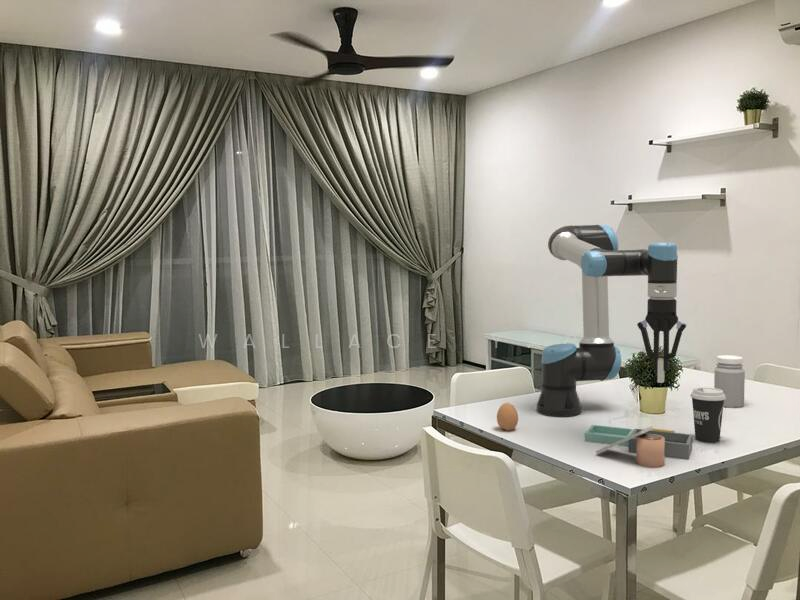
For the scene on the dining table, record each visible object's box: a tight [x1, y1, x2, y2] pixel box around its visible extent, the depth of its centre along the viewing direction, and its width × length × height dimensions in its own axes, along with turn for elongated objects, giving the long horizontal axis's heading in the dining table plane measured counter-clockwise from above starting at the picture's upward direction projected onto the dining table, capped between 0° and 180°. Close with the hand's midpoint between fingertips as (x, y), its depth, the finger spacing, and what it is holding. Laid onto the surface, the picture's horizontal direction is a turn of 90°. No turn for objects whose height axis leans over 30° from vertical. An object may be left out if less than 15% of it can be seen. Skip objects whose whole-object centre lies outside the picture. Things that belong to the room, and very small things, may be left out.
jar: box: [713, 354, 746, 409], centre depth 236 cm, size 10×10×18 cm
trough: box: [583, 424, 635, 448], centre depth 199 cm, size 13×11×2 cm
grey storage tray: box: [628, 427, 694, 460], centre depth 188 cm, size 16×11×5 cm
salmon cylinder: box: [635, 434, 665, 468], centre depth 177 cm, size 7×7×7 cm
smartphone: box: [595, 426, 654, 455], centre depth 182 cm, size 7×16×1 cm
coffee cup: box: [689, 386, 726, 444], centre depth 196 cm, size 10×10×15 cm
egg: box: [496, 402, 519, 431], centre depth 211 cm, size 7×7×9 cm
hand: (660, 381), depth 187 cm, fingers closed
